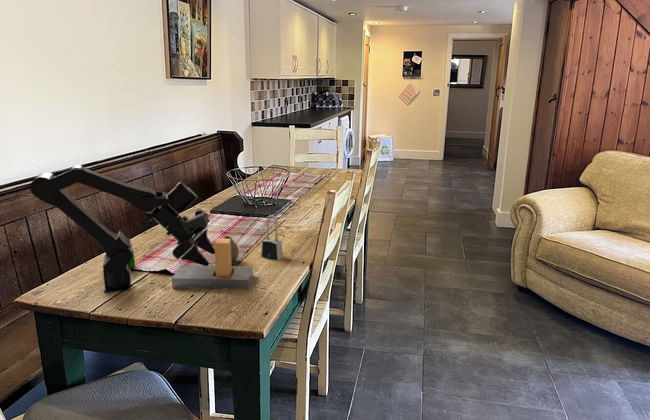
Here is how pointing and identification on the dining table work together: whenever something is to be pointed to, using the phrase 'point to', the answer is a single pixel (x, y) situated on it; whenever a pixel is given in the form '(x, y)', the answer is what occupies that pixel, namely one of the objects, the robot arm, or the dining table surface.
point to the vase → (233, 250)
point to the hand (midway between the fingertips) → (211, 259)
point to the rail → (211, 277)
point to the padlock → (272, 244)
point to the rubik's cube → (131, 261)
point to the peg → (223, 257)
